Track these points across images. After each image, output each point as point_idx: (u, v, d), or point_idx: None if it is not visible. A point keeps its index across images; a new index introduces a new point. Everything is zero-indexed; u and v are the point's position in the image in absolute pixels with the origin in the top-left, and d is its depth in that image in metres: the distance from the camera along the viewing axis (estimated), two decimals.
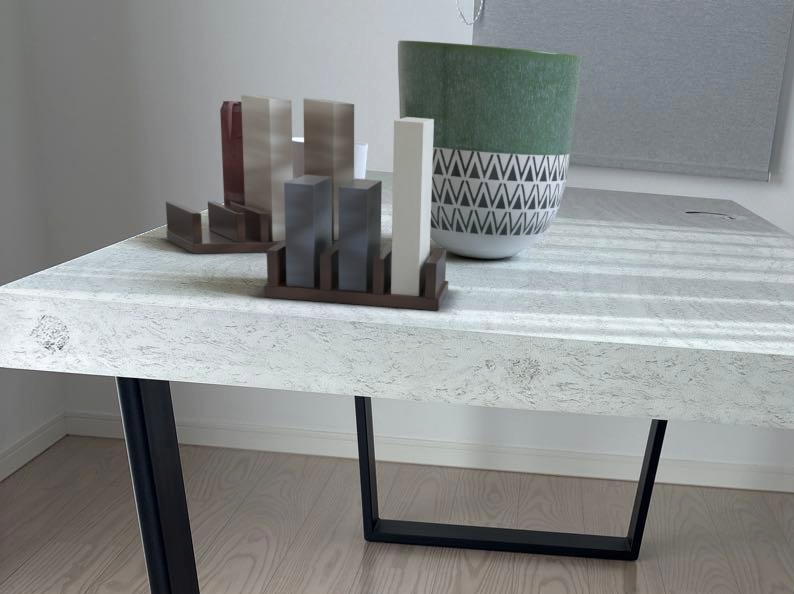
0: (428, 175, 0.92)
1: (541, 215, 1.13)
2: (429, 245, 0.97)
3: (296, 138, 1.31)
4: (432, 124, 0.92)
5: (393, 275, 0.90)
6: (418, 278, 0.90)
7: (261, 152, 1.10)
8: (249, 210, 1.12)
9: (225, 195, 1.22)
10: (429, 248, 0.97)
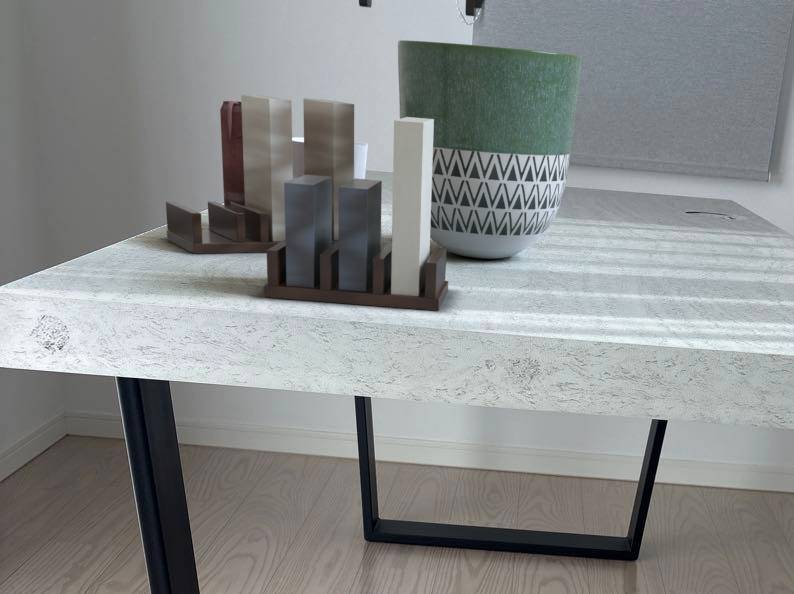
0: (428, 175, 0.92)
1: (541, 215, 1.13)
2: (429, 245, 0.97)
3: (296, 138, 1.31)
4: (432, 124, 0.92)
5: (393, 275, 0.90)
6: (418, 278, 0.90)
7: (261, 152, 1.10)
8: (249, 210, 1.12)
9: (225, 195, 1.22)
10: (429, 248, 0.97)
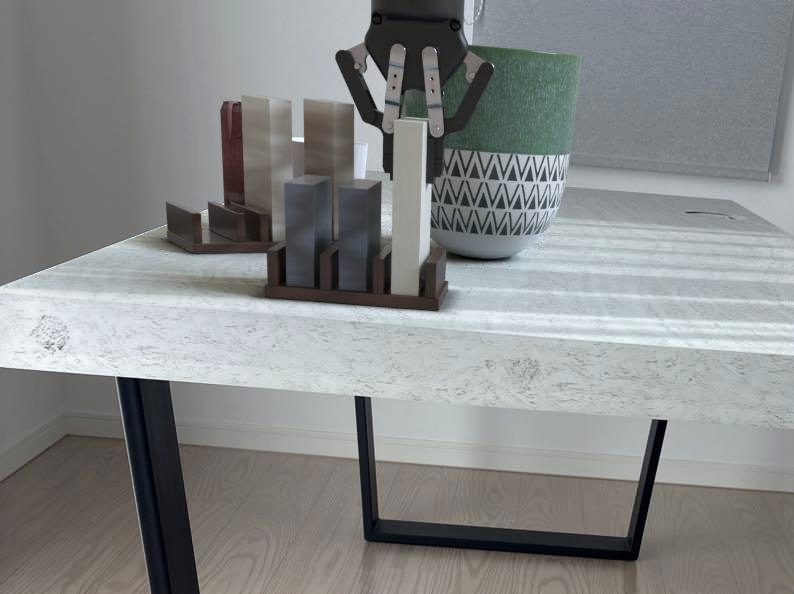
0: None
1: (541, 215, 1.13)
2: (429, 245, 0.97)
3: (296, 138, 1.31)
4: None
5: (393, 275, 0.90)
6: (418, 278, 0.90)
7: (261, 152, 1.10)
8: (249, 210, 1.12)
9: (225, 195, 1.22)
10: (429, 248, 0.97)
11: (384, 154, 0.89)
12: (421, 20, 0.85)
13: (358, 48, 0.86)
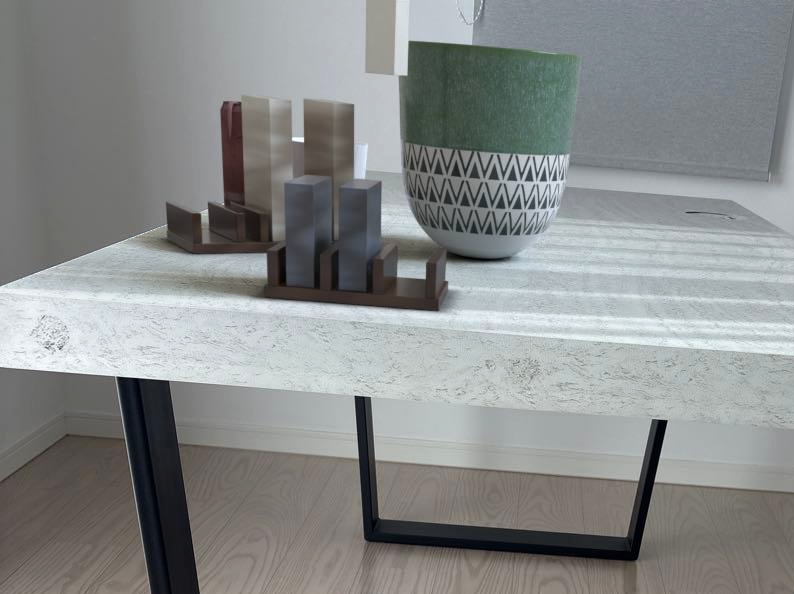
0: None
1: (541, 215, 1.13)
2: (408, 35, 0.91)
3: (296, 138, 1.31)
4: None
5: (367, 50, 0.85)
6: (394, 54, 0.85)
7: (261, 152, 1.10)
8: (249, 210, 1.12)
9: (225, 195, 1.22)
10: None
11: None
12: None
13: None
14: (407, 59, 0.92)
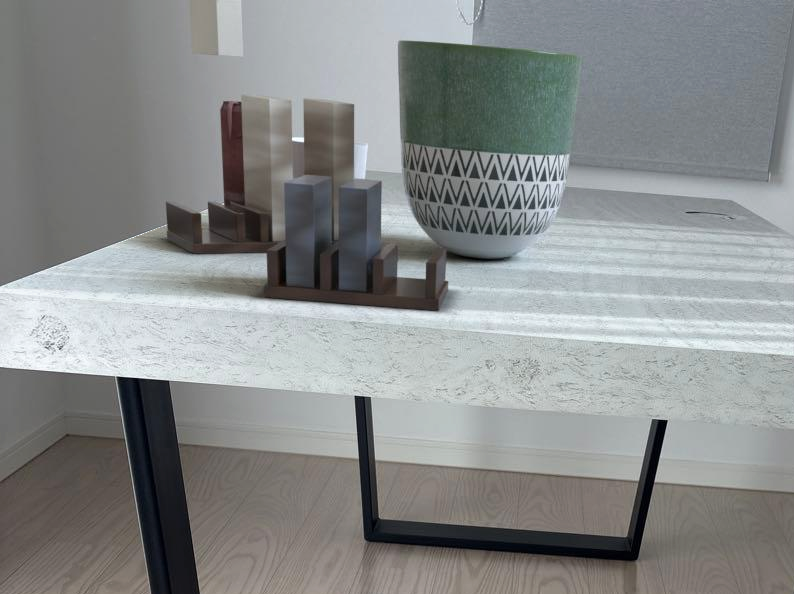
0: None
1: (541, 215, 1.13)
2: None
3: (296, 138, 1.31)
4: None
5: (219, 36, 0.99)
6: (241, 39, 1.00)
7: (261, 152, 1.10)
8: (249, 210, 1.12)
9: (225, 195, 1.22)
10: None
11: None
12: None
13: None
14: None
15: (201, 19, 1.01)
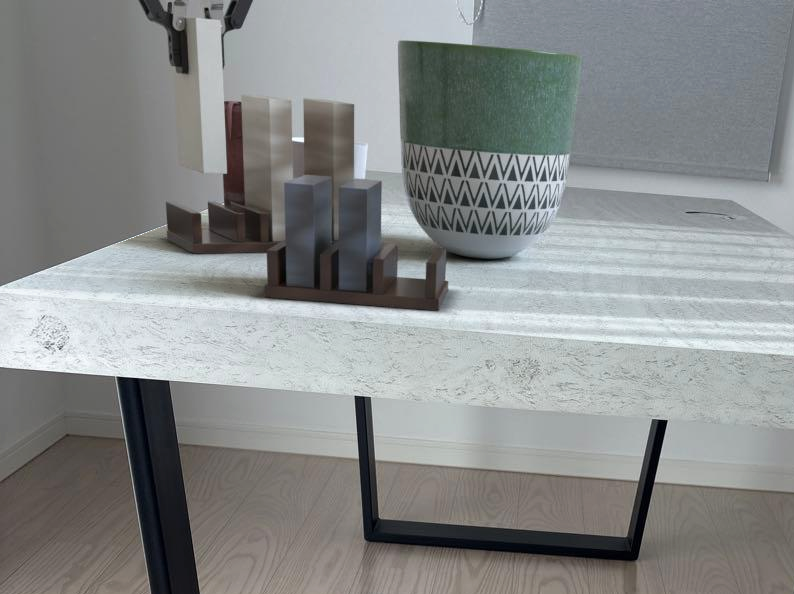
0: None
1: (541, 215, 1.13)
2: None
3: (296, 138, 1.31)
4: None
5: (204, 156, 1.05)
6: (225, 157, 1.06)
7: (261, 152, 1.10)
8: (249, 210, 1.12)
9: (225, 195, 1.22)
10: None
11: (174, 49, 1.03)
12: None
13: None
14: None
15: (187, 137, 1.07)
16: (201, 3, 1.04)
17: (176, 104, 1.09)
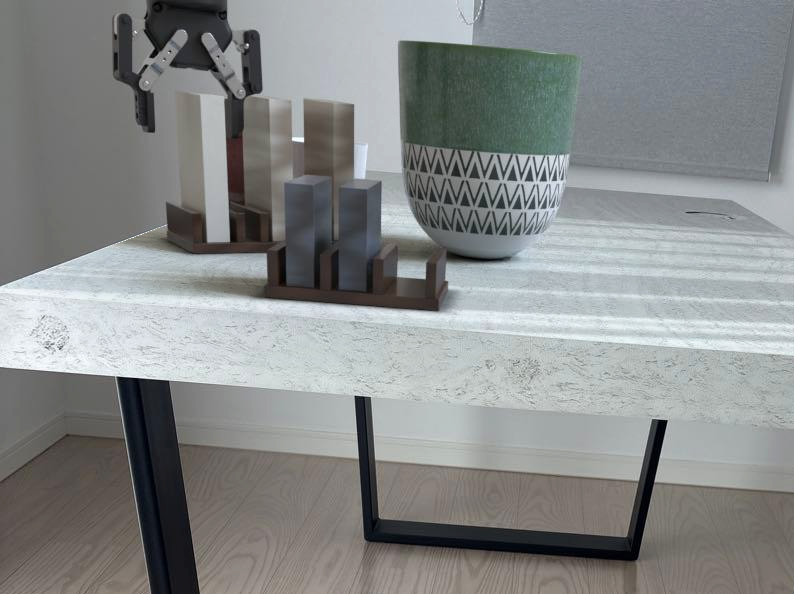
0: None
1: (541, 215, 1.13)
2: None
3: (296, 138, 1.31)
4: None
5: (208, 226, 1.08)
6: (228, 227, 1.09)
7: (261, 152, 1.10)
8: (249, 210, 1.12)
9: None
10: None
11: (140, 109, 1.03)
12: (197, 10, 1.02)
13: (138, 21, 1.00)
14: None
15: (191, 206, 1.10)
16: (214, 75, 1.07)
17: (180, 173, 1.11)
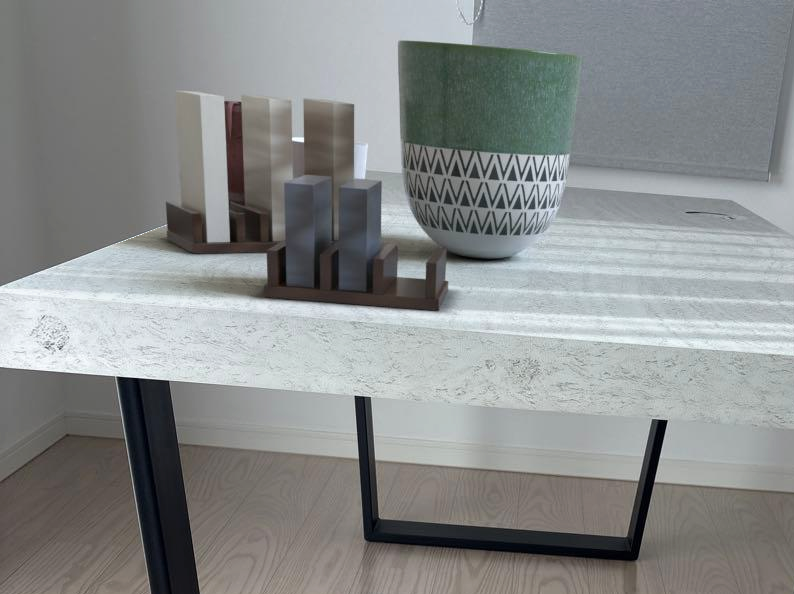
0: None
1: (541, 215, 1.13)
2: None
3: (296, 138, 1.31)
4: None
5: (208, 226, 1.08)
6: (228, 227, 1.09)
7: (261, 152, 1.10)
8: (249, 210, 1.12)
9: None
10: None
11: None
12: None
13: None
14: None
15: (191, 206, 1.10)
16: None
17: (180, 173, 1.11)
